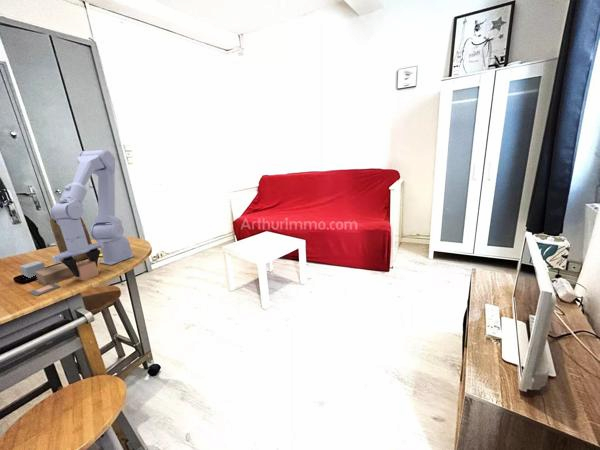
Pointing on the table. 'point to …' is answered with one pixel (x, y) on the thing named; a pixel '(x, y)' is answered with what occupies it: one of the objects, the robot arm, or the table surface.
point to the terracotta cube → (87, 270)
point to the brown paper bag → (61, 241)
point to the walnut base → (54, 274)
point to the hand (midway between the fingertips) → (86, 273)
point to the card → (44, 289)
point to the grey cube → (31, 268)
